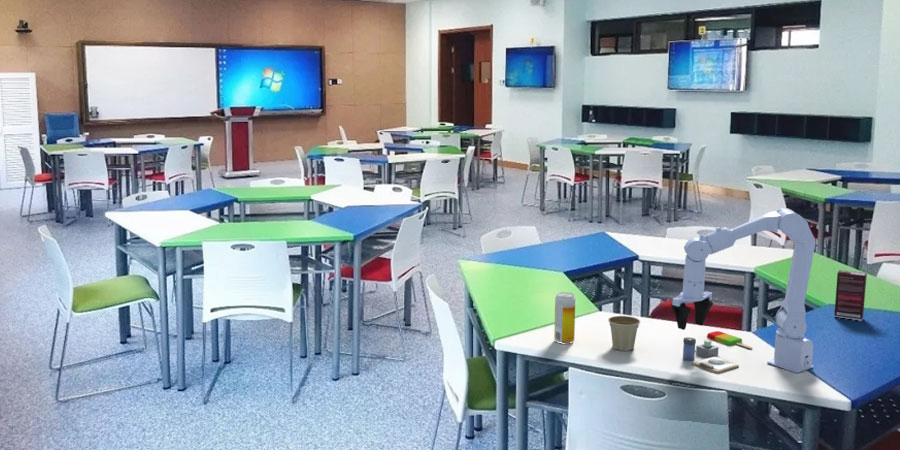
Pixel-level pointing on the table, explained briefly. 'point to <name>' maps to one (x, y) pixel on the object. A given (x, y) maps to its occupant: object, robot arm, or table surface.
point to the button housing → (707, 351)
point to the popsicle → (726, 338)
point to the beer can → (564, 317)
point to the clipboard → (715, 364)
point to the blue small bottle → (689, 349)
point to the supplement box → (850, 295)
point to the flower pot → (623, 332)
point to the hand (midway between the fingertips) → (690, 326)
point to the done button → (707, 344)
